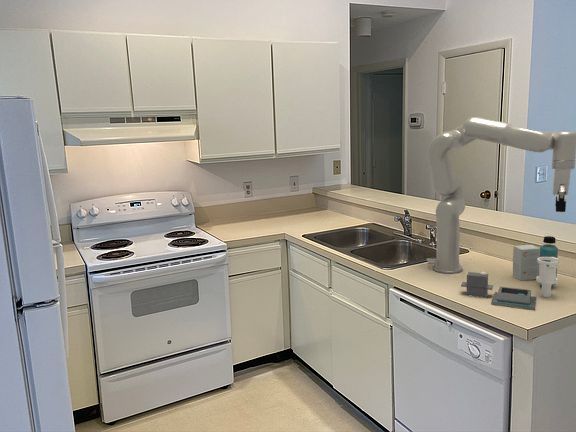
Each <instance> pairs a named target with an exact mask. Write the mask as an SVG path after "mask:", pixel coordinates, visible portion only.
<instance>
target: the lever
mask: <svg viewBox="0 0 576 432" xmlns="http://www.w3.org/2000/svg"><path fill="white" fill-rule="evenodd" d="M460 287H463V288H466V290H465V291H466V296H469V295H472V296H471V297H477V296H479V297H478V298H485V297H486V298H487V296H488V291H493V289H494V287H495V285H494V284H489V273H487V272H486V271H480V272H474V271H468V272H467V274H466V281H462V283H461V284H460Z"/></svg>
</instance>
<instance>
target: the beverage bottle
mask: <svg viewBox="0 0 576 432" xmlns="http://www.w3.org/2000/svg"><path fill="white" fill-rule="evenodd" d="M542 242H543V244H542V245H541V246H540V247H539V248H540V257H555V258H558V257H559V255H558V254H559V248H558V247H557V246H556V245H555V244H556V237H555V236H552V235H551V236H549V235H548V236H544V237H543V241H542ZM541 261H545V262H551V260H541ZM554 262H555V261H554ZM539 265H540V263H539ZM541 265H542V264H541ZM547 267H549V265H548V264H547ZM555 269H556V278H557V279H558V268H555ZM538 276H539V272H538ZM538 284H539V285H542V283H539V282H538ZM556 285H557V284H551V287H554V286H556Z"/></svg>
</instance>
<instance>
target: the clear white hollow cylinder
mask: <svg viewBox="0 0 576 432" xmlns="http://www.w3.org/2000/svg"><path fill="white" fill-rule="evenodd" d="M541 260H551V262H545V261H541ZM554 261H555V262H554ZM537 262H538V263H540V265H539V276H537V277H536V279H535V280H536V282H538V284H539V283H542V284H541V292H540V293H541V296H542V297H544V298H549V297H551V295H552V286H551V284H556V285H557V284H559V279H558V277H557V278H556V269H555V268H557V269H559V264H560V258H555V257H539V258H537ZM541 264H542V265H541ZM547 264H548V265H549V267H547Z"/></svg>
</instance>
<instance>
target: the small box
mask: <svg viewBox="0 0 576 432" xmlns="http://www.w3.org/2000/svg"><path fill="white" fill-rule="evenodd" d="M512 249H513V250H512V251H513V252H512V255H513V256H512V272H511V273H512V274H511V275H512V277H514V278H515V279H517V280H519V281H529V280H530V281H531V280H536V277H537V276H538V272H539V263H538V262H537V258H539V257H540V247H538V246H537V245H534V244H523V245H522V244H521V245H513V248H512Z"/></svg>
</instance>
